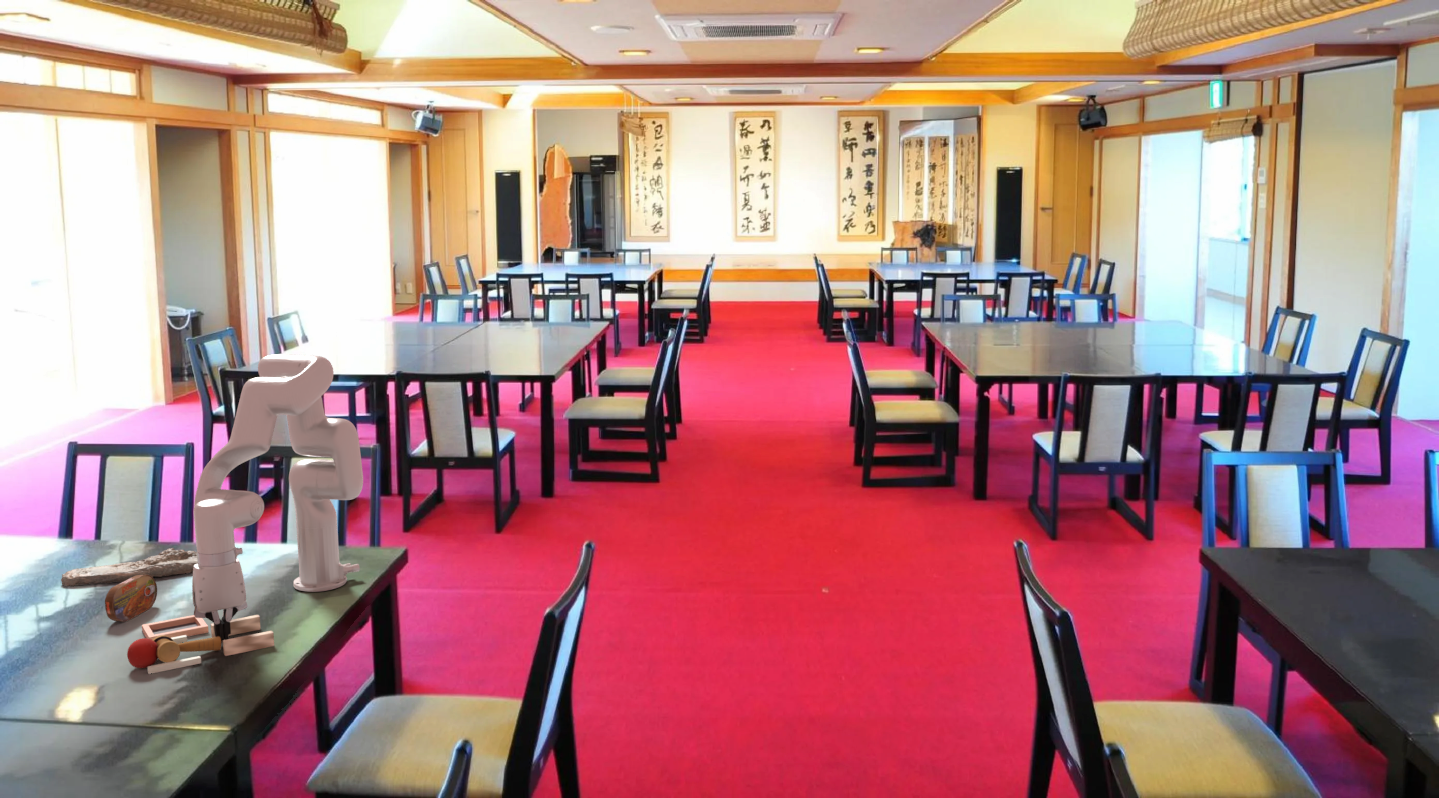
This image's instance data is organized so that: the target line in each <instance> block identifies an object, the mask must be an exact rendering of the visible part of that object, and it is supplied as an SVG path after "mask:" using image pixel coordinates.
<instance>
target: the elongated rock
mask: <svg viewBox="0 0 1439 798" xmlns="http://www.w3.org/2000/svg"><path fill="white" fill-rule="evenodd" d="M195 564H198V559H197V551H194V550H187V551H185V550H184V549H175V548H174V547H172V548H167V549H165V550H162V552H159V553H158V554H156V555H151V556H148V557H147V558H145V559H140V560H138V561H129V562H120V563H115V564H114V563H113V564H105V565H99V566H90V567H82V568H81V567H80V568H73V569H71V570H68V571H66V572H65V573H63V574H61V578H60V581H61V585H62V586H64V587H66V588H67V587H69V588H70V587H74V586H85V585H86V586H87V585H98V584H111V583H122V582H124V581H126V580H128V579H130V578H132V577H134V576H136V575H150V576H152V577H153V578H163V577H170V576H173V575H182V574H183V575H184V574H185V573H186V574H192V573H193V568H194V565H195Z"/></svg>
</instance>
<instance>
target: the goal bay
mask: <svg viewBox="0 0 1439 798" xmlns="http://www.w3.org/2000/svg"><path fill="white" fill-rule="evenodd" d="M171 639H172V640H173V641H174V642H176V643H177V644H180V643H182V642H188V637H187V636H186V635H182V636H177V637H172V638H171ZM198 664H199V665H200V664H202V658H201V655H198V656H197V655H196V656H192V657H188V658H182V659H178V660H177V659H176V660H175V661H172V662H167V663H165V662H162V663H158V664H153V665H151V666H148V667H147V673H148V675H150V674H151V673H152V674H156V673H161V672H165V671H170V670H175V669H180V668H184V667H185V668H186V667H189V666H193V665H198Z"/></svg>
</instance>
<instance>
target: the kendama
mask: <svg viewBox="0 0 1439 798" xmlns="http://www.w3.org/2000/svg"><path fill="white" fill-rule="evenodd" d="M221 649H222V641H221V638H220V637H219V636H217V637H212V636H211V637H208V638H202V639H195V640H189V641H188V640H187V642H184V643H179V644H177V643H176V642H174V641H173V640H172V639H171V638H170V637H168V636H165V635H160V636H157V637H155V638H154V639H153V640H151V639H147V638H146V637H143V638H139V639H136V640H135V641H133V642H132V643H131V644H130V645H129V647H128V648H127V652H126V653H127V654H126V655H127V659H128V663H129V664H130V665H131V666H132V667H134V668H136V669H146V668H147V667H148V666H153V665H156V663H159V662H160V661H161V662H162V663H167V662H172V661H177V659H178V658H179V656H180V654H181V652H183V653H190V652H191V653H192V652H193V653H194V652H212V651H215V652H216V651H221ZM157 660H158V661H157Z"/></svg>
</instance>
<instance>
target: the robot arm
mask: <svg viewBox="0 0 1439 798" xmlns="http://www.w3.org/2000/svg"><path fill="white" fill-rule="evenodd" d="M257 372H258V375H259V376H257V377H253V378H250V379H248V380H247V381H245V383H244V385H243V387H242V389H241V393H240V396H239V397H240V398H239V400H238V401H239V402H238V405H237V409H236V413H235V418H234V420H233V427H232V429H231V434H230V437H229V440H228V441H227V443H226V444H225V445H224V446H223V447H221V448H220V449H219V450H218V451H217V452H216V453H215V454H214V455H213V456H212V458H211V459H210V460H209V462H207V464H206V465H205V467H203V470H202V472H201V473H200V477H199V480H198V484H197V488H196V491H195V497H194V502H193V521H194V523H193V524H194V534H195V535H194V536H195V545H196V552H197V559H198V564H195V565H194V568H193V571H192V582H191V583H192V584H191V586H192V593H191V594H192V605H193V606H194V610H193V615H194V616H195V617H196V618H203V619H207V620H209V621H211V622H212V623H214V632H215V637H217V636H219V637H220V638H221V642H223V640H227V639H230V638H229V636H228V635H229V634H231V629H230V621H231V620H233V618H234V617H235V616H236V614H237V613H238V612H240V611H243V610H246V609H247V608H248V603H247V593H246V591H247V590H246V584H245V580H244V572H243V569H242V566H241V562H240V559H239V558H238V556H239V555H242V554H243V553H244V552H243V547H236V546H235V532H234V531H235V530H236V529H239V528H243V527H248V526H251V525H254V524H255V523H256V522H258V521H259V520H260V519H261V517H262V515H263V514H264V510H265V502H264V500H263V498H262V497H261V495H259V494H257V493H256V492H254V491H249V490H235V489H223V488H222V487H223V484H224V481H225V479H226V477H227V476H228V475H229V474H230V472H231V471H233V470H234V469H235V468H237V467H238V466H239V465H241V464H243V463H245V462H248V461H249V460H252V459H254V458H256V457H259V456H262V455H264V454H266V453H267V452H269V450H270V448H271V446H272V445H271V444H272V440H273V435H274V432H275V428H276V423H277V422H276V421H277V419H278V416H286V420H287V421H286V422H287V427H288V435H289V439H290V445H291V448H292V450H293V451H294V453H295V454H297V455H300V456H304V457H316V458H307V459H301V460H299V461H296V462H295V463H294V464H293V465H292V467H291V468H290V470H289V474H288V483H289V487H290V488H289V489H290V491H291V495H292V499H293V504H294V510H295V512H294V513H295V523H296V524H295V525H296V542H297V556H298V569H299V570H298V572H299V576H298V577H296V578H294V580H293V582H292V584H293V585H292V586H293V587H294V589H296V590H298V591H300V592H301V591H302V592H307V593H314V592H315V593H316V592H327V591H331V590H335V589H338V588H341V587H342V586H344V585H346V583H347V581H348V578H347V575H348V574H349V573H356V572H357V573H358V572H360V564H359V563H355V564H352V563H350V562H348V563H344V564H342V563H341V562H340V551H339V548H340V547H339V533H338V532H339V531H338V515H337V510H336V509H335V506H334V504H333V502H332V500H335V501H350V500H354V499H356V498H357V497H359V496H360V494H361V492H362V490H363V485H364V472H363V464H362V456H361V445H360V439H359V433H358V430H357V428H356V427H355V425H354V423H352V422H351V421H350V420H348V419H345V418H340V417H337V418H336V417H327V415H326V413H325V409H324V403H323V398H322V396H323V395H324V394H325V393H326V392H327V391H328V389H329V388H330V386H331V384H332V383H333V380H334V368H333V365H332V363H331V361H329V359H327V358H326V357H323V356H320V355H306V354H303V355H302V354H301V355H300V354H283V353H282V354H281V353H280V354H279V353H277V354H273V353H272V354H269V355H266V356H264V357H262V358H260V360H259V362H258V365H257ZM322 458H323V459H322ZM325 458H330V459H325ZM331 458H332V459H331ZM221 610H223V611H222V616H221V617H222V618H220V615H219V611H221Z"/></svg>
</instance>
